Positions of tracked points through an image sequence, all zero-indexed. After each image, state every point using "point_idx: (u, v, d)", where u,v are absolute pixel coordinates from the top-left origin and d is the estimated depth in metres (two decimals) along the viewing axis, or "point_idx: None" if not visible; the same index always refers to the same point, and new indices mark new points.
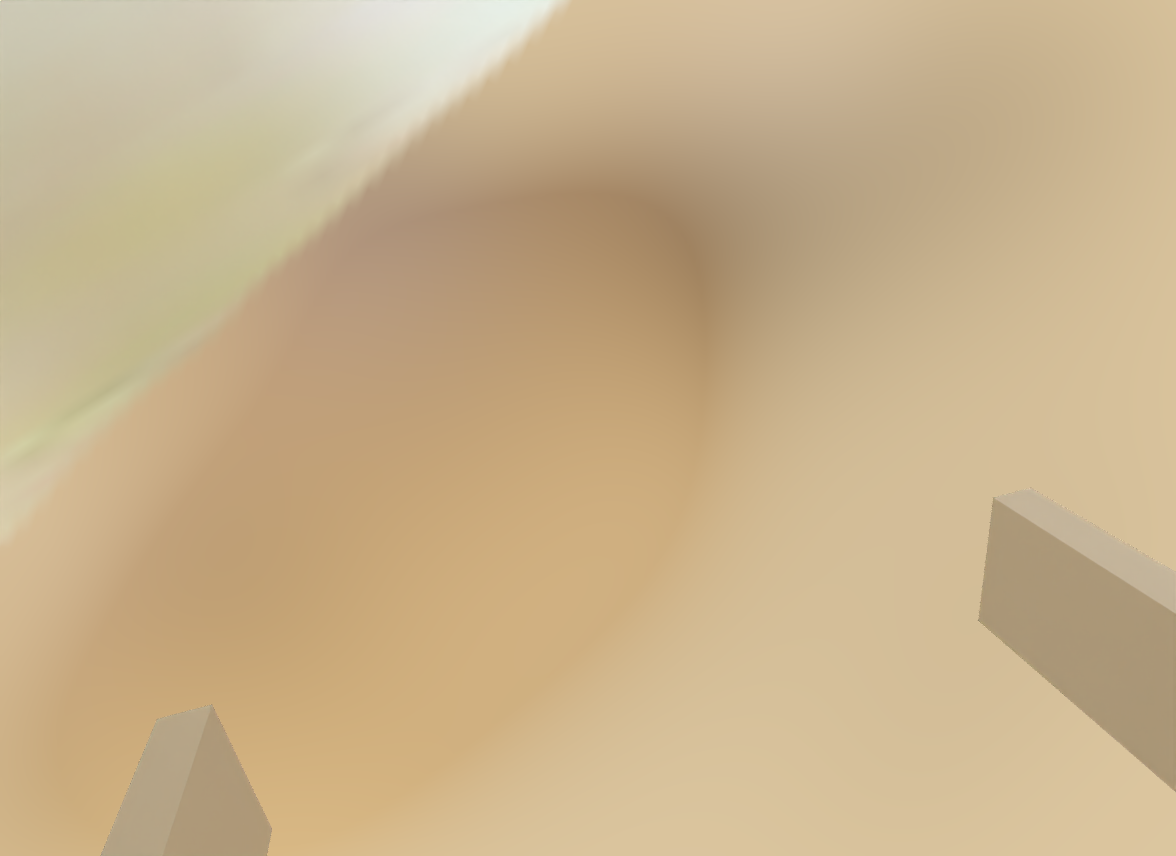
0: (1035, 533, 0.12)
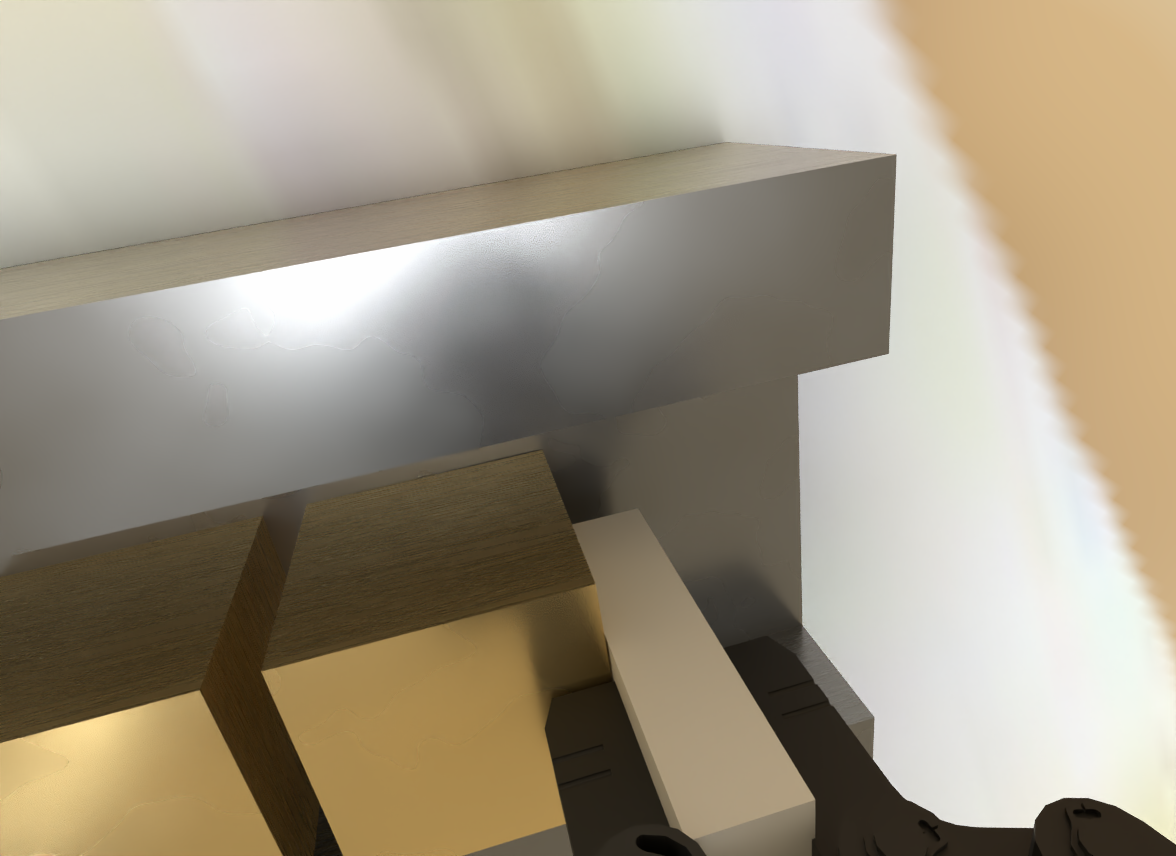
0: (614, 553, 0.13)
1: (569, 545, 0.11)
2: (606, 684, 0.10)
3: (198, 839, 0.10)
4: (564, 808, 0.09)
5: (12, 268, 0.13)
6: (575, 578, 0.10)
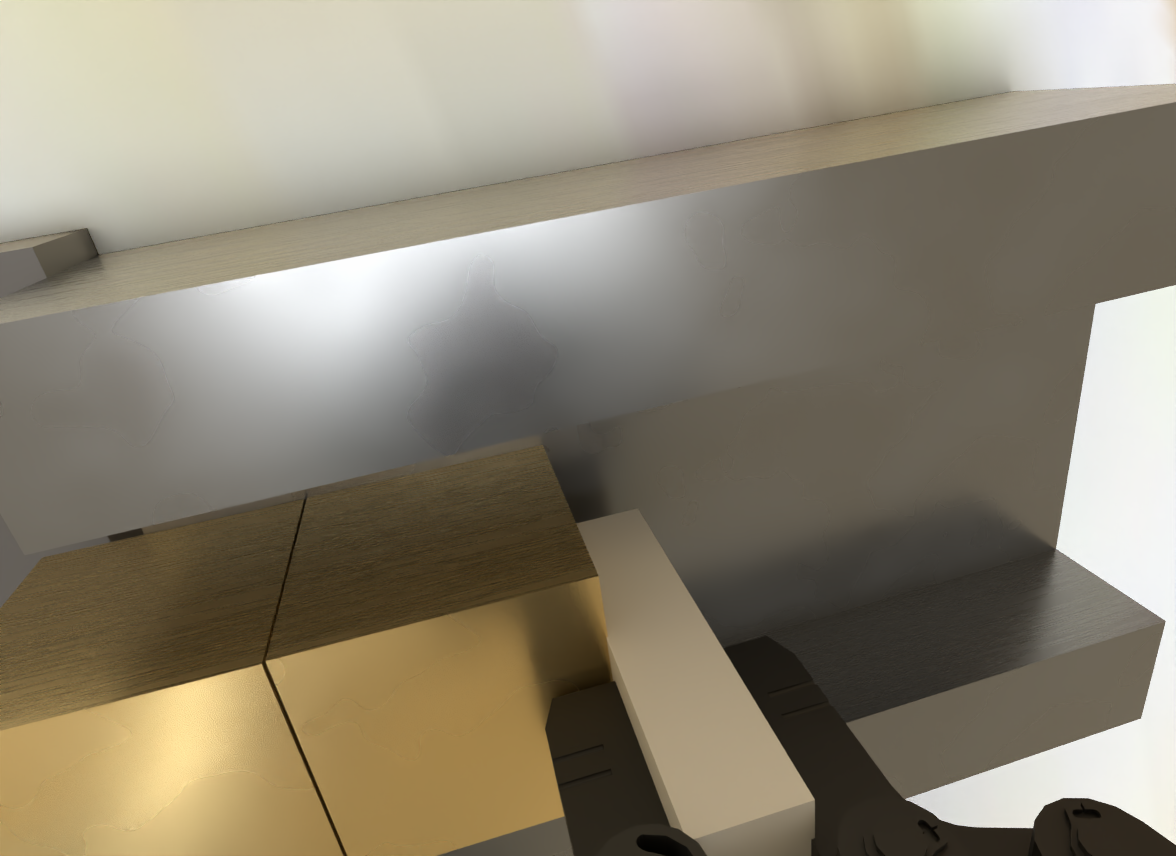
0: (614, 553, 0.13)
1: (571, 538, 0.11)
2: (606, 684, 0.10)
3: (252, 814, 0.10)
4: (564, 808, 0.09)
5: (409, 200, 0.14)
6: (578, 570, 0.10)
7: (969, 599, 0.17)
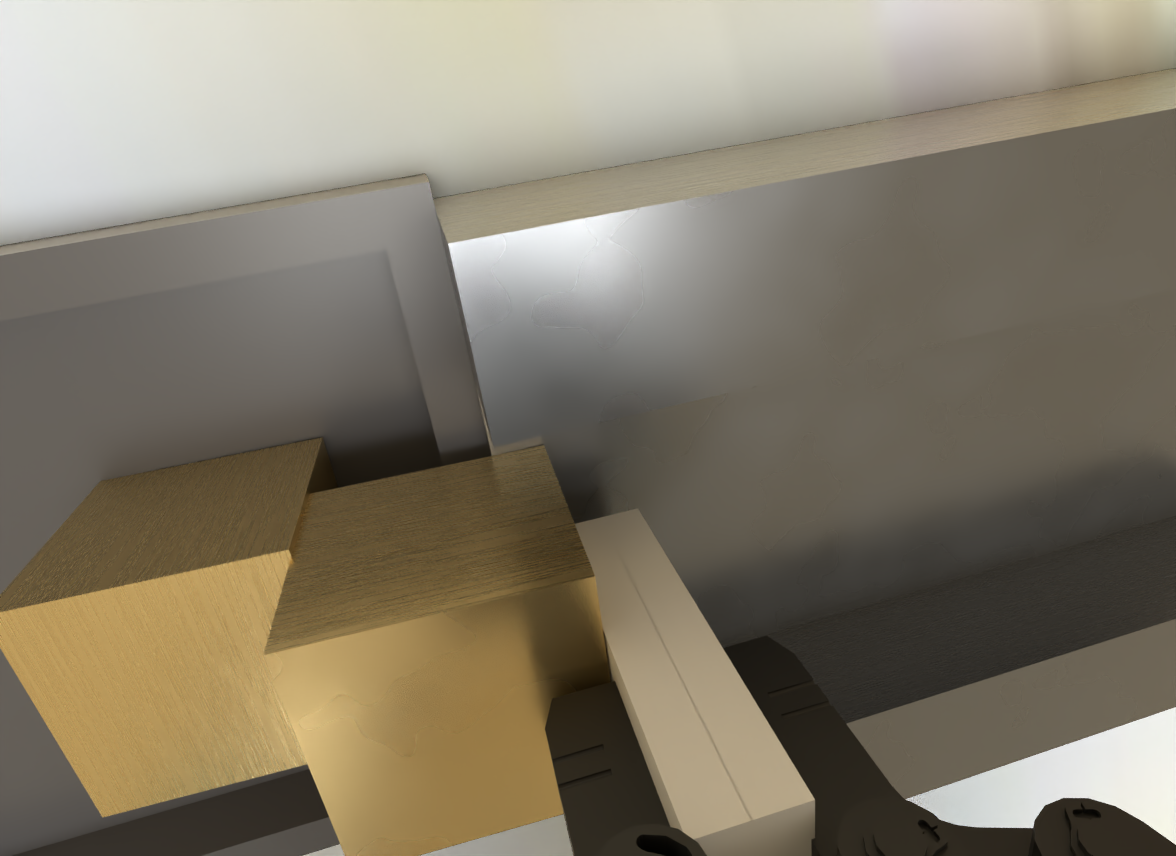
0: (614, 552, 0.13)
1: (569, 538, 0.11)
2: (606, 684, 0.10)
3: None
4: (564, 808, 0.09)
5: (708, 151, 0.15)
6: (574, 570, 0.10)
7: None
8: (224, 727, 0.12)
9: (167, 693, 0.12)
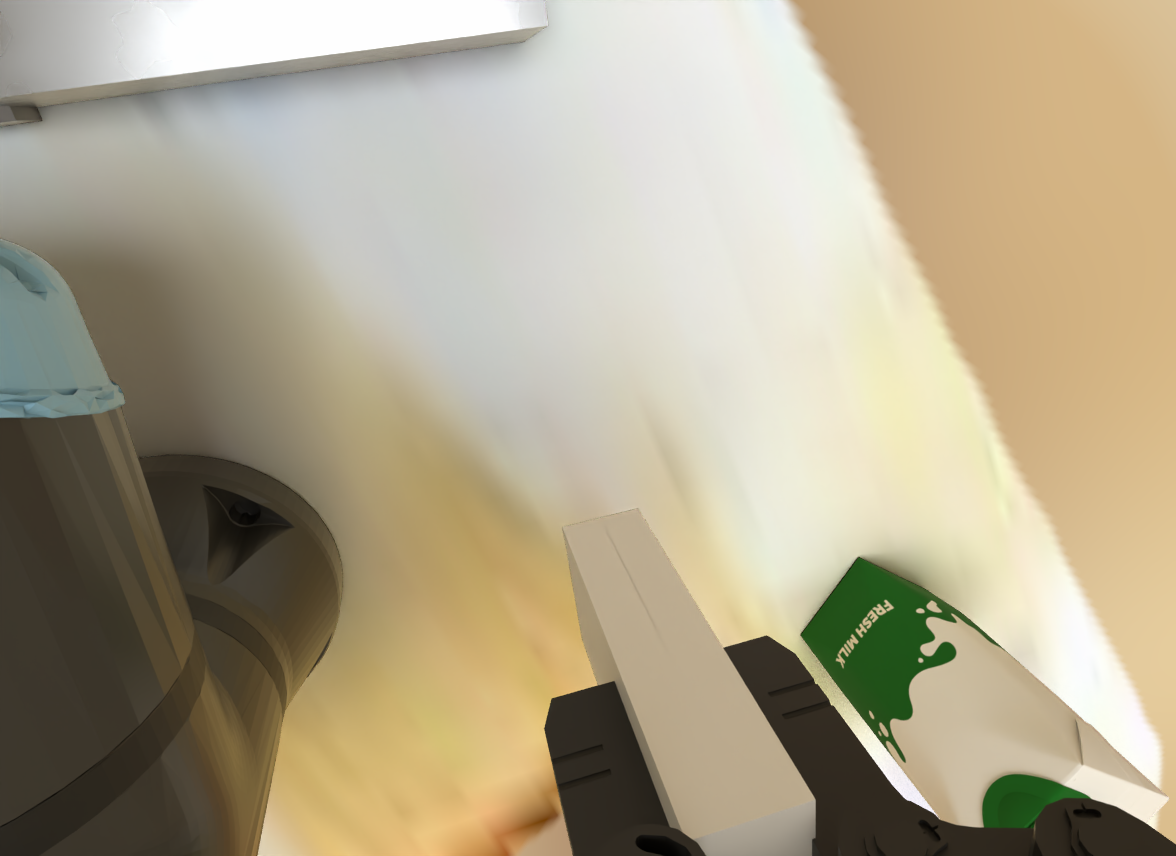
0: (614, 552, 0.13)
1: None
2: (606, 684, 0.10)
3: None
4: (564, 808, 0.09)
5: None
6: None
7: None
8: None
9: None
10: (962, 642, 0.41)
